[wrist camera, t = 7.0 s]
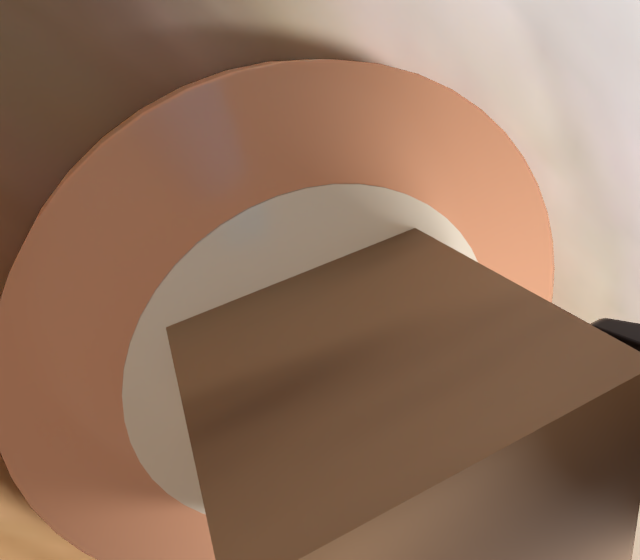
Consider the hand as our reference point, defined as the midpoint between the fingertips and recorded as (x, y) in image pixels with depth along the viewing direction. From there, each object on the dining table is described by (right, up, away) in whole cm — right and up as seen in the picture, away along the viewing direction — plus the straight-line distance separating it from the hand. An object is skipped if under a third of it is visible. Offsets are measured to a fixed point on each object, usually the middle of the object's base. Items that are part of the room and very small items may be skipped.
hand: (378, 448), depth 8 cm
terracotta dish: (-1, +1, +3) cm, 4 cm away
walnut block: (-1, +1, +2) cm, 2 cm away
